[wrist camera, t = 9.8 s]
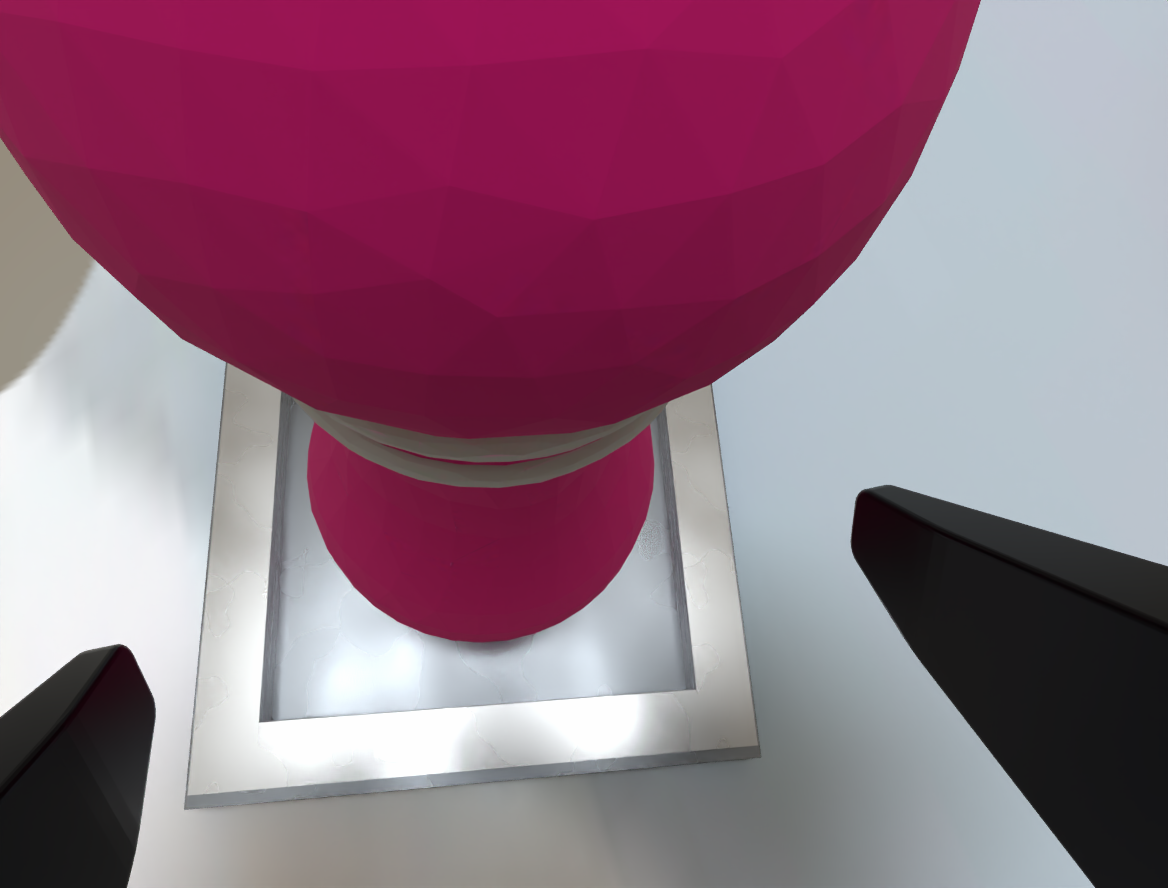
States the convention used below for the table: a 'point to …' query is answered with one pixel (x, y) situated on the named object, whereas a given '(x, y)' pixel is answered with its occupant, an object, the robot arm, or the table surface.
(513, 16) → the pepper mill
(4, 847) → the robot arm
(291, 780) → the silver dock
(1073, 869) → the table surface
